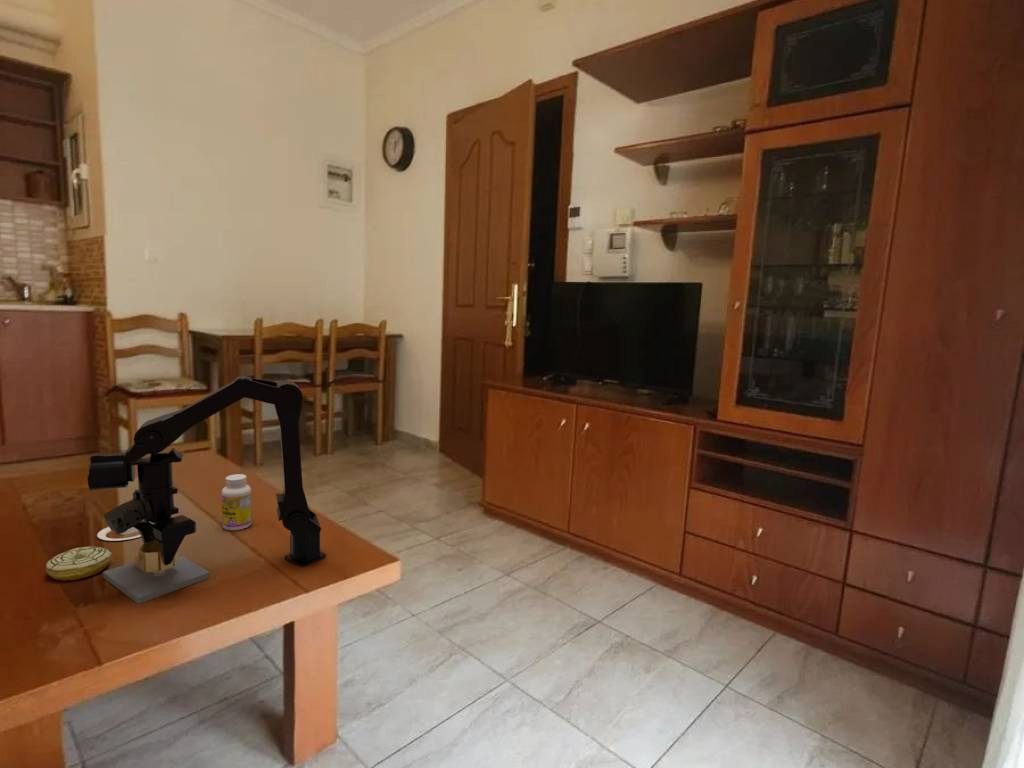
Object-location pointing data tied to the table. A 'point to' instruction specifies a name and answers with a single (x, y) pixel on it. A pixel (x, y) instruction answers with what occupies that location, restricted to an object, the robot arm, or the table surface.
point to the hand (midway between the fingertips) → (159, 559)
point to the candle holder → (130, 531)
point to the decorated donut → (78, 563)
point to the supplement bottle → (236, 503)
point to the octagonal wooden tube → (154, 558)
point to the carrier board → (154, 579)
